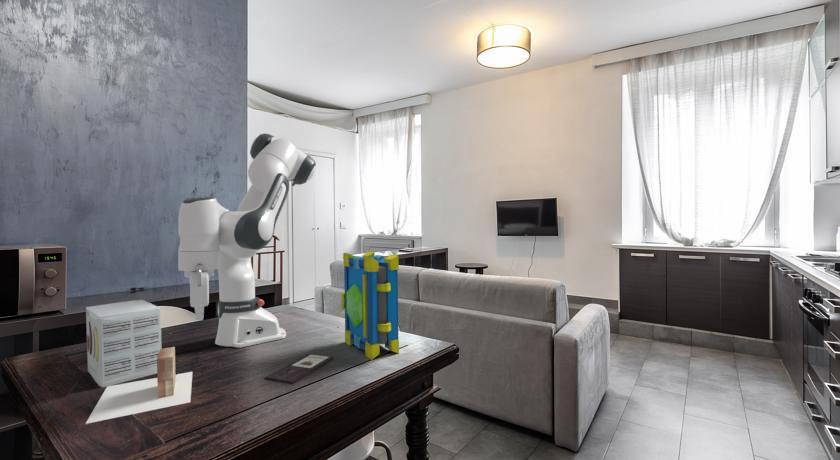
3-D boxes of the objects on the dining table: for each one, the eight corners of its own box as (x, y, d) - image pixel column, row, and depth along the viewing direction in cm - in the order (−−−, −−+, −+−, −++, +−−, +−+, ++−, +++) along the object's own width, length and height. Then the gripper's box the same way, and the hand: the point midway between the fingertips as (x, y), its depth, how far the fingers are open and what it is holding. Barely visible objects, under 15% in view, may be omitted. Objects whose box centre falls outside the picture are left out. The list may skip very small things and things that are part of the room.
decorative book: (374, 335, 136) (373, 250, 135) (408, 353, 117) (407, 255, 116) (336, 342, 128) (334, 252, 128) (365, 363, 109) (364, 258, 108)
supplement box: (85, 373, 104) (83, 306, 104) (144, 359, 115) (142, 298, 114) (100, 391, 93) (98, 316, 93) (163, 373, 104) (162, 306, 103)
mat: (192, 373, 103) (192, 371, 103) (190, 404, 86) (190, 402, 86) (107, 388, 94) (107, 386, 94) (85, 426, 77) (85, 423, 77)
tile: (175, 382, 96) (174, 346, 96) (173, 395, 89) (172, 356, 89) (161, 385, 95) (160, 348, 94) (157, 398, 88) (156, 359, 87)
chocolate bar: (264, 377, 99) (307, 354, 116) (264, 380, 99) (307, 357, 116) (293, 381, 96) (333, 357, 113) (293, 385, 96) (333, 360, 113)
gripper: (215, 265, 87) (215, 326, 87) (212, 258, 105) (212, 309, 105) (182, 267, 84) (183, 330, 84) (185, 259, 102) (185, 311, 102)
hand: (199, 318), depth 95 cm, fingers closed
